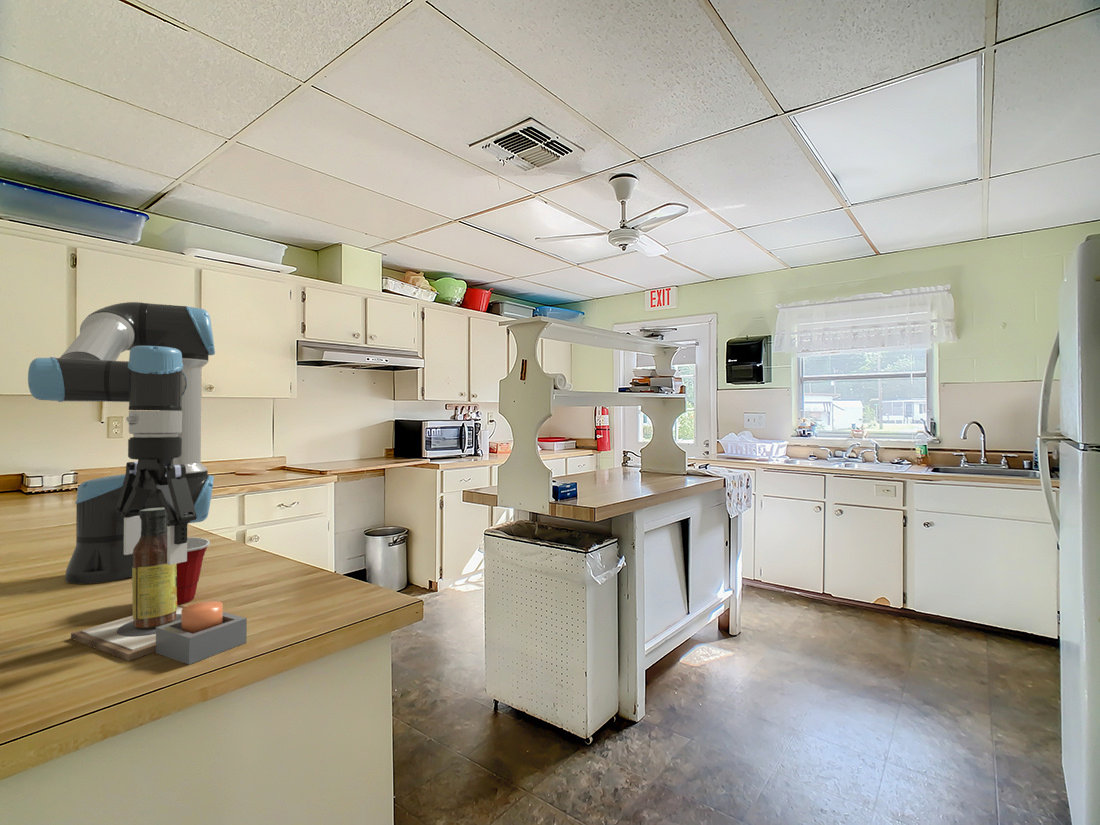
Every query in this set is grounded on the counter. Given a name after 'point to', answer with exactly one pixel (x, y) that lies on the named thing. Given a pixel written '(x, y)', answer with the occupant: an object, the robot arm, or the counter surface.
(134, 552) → the sauce bottle
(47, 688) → the counter surface
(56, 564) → the counter surface
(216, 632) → the button housing
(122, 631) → the board
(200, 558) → the plastic cup
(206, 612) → the button
